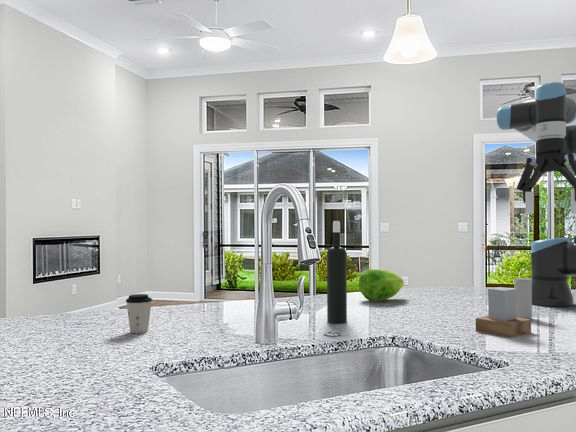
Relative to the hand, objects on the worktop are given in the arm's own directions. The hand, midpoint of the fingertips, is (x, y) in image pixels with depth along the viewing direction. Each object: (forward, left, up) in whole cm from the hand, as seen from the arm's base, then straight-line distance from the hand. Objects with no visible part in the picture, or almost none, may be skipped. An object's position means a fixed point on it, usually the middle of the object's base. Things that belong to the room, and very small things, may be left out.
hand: (551, 213), depth 145 cm
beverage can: (-4, -12, -32) cm, 34 cm away
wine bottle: (+48, -37, -32) cm, 68 cm away
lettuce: (+9, -61, -32) cm, 69 cm away
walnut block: (+18, -3, -32) cm, 37 cm away
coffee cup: (+102, -54, -32) cm, 120 cm away
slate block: (+18, -3, -28) cm, 34 cm away
